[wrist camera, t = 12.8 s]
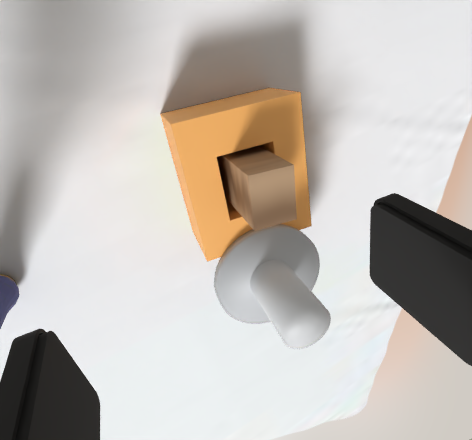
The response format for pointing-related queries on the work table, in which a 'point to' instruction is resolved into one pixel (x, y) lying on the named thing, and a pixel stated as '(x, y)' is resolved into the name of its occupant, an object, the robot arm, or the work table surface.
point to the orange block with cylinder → (234, 225)
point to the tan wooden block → (259, 186)
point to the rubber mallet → (7, 296)
